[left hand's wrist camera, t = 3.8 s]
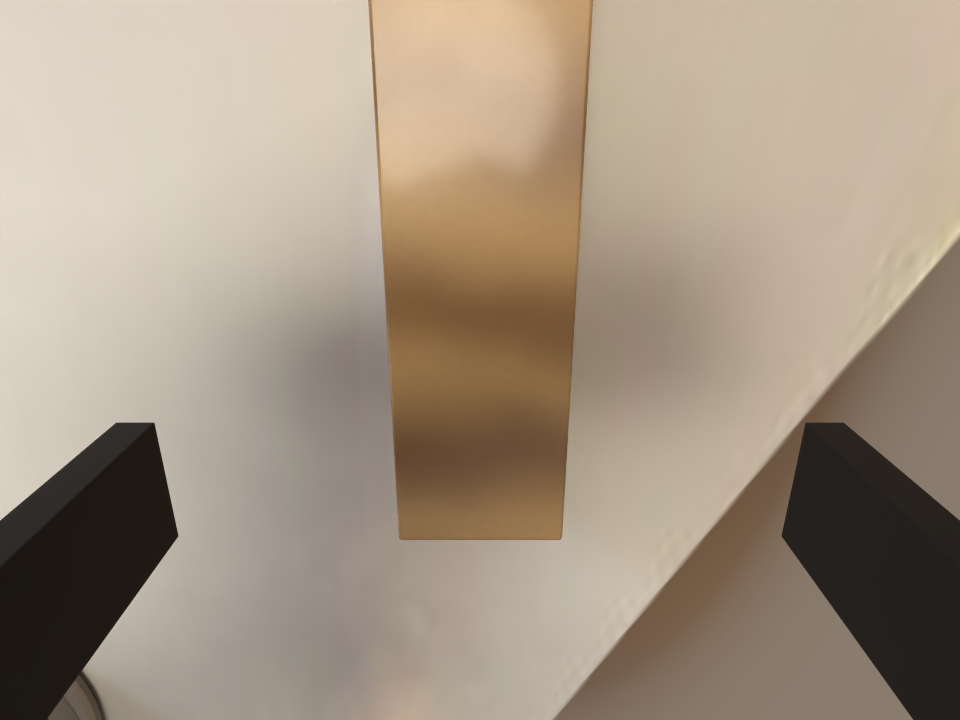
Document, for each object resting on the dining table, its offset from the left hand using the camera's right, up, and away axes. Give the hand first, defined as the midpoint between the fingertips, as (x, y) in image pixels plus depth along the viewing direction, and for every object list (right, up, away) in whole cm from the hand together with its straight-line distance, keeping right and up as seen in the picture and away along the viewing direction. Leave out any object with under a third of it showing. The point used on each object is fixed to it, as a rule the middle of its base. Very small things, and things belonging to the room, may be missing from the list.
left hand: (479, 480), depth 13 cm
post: (0, +23, +7) cm, 24 cm away
